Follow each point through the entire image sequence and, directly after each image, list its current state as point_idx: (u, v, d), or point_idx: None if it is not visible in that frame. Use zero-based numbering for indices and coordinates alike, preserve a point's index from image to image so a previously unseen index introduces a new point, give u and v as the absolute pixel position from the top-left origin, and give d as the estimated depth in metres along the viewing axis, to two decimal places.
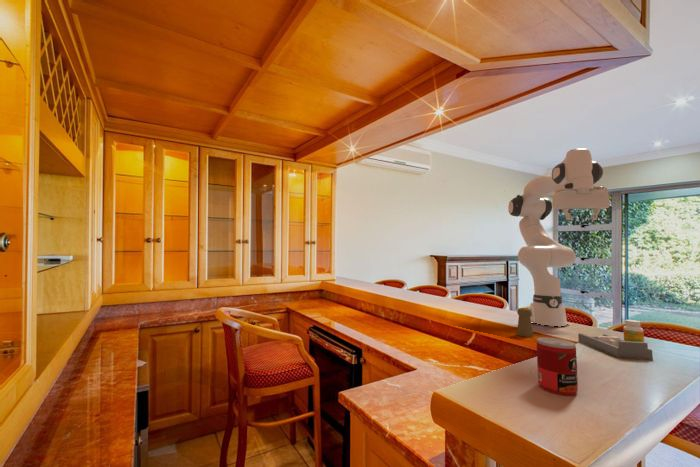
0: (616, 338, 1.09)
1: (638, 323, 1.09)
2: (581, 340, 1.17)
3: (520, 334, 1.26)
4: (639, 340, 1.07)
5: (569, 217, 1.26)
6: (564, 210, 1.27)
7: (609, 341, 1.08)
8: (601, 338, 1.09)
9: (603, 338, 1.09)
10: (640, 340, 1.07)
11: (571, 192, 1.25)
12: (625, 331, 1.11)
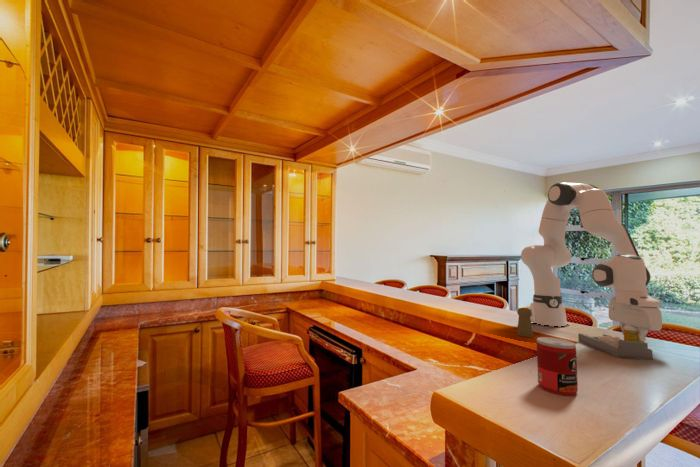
0: (616, 338, 1.09)
1: None
2: (581, 340, 1.17)
3: (520, 334, 1.26)
4: (639, 340, 1.07)
5: None
6: (646, 330, 1.05)
7: (609, 341, 1.08)
8: (601, 338, 1.09)
9: (603, 338, 1.09)
10: None
11: None
12: (625, 331, 1.11)
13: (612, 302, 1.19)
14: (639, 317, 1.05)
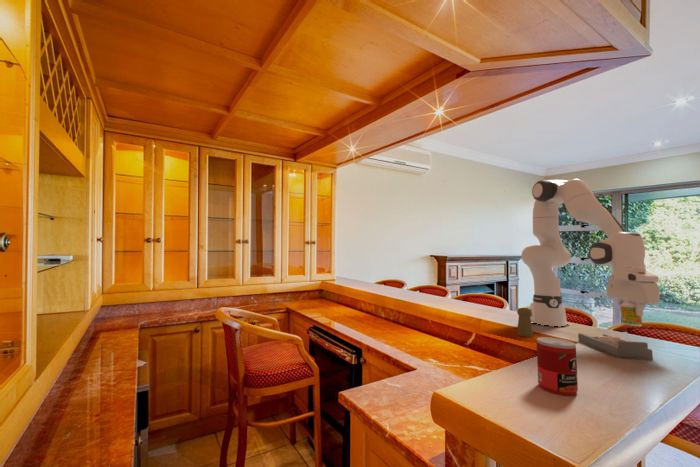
0: (616, 338, 1.09)
1: None
2: (581, 340, 1.17)
3: (520, 334, 1.26)
4: (637, 316, 1.09)
5: None
6: (643, 305, 1.06)
7: (609, 341, 1.08)
8: (601, 338, 1.09)
9: (603, 338, 1.09)
10: (637, 316, 1.09)
11: None
12: (623, 308, 1.12)
13: (610, 280, 1.20)
14: (637, 292, 1.06)
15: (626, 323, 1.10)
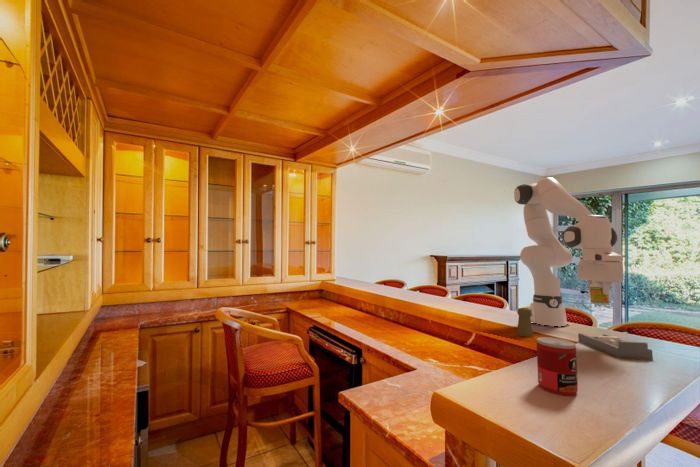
0: (616, 338, 1.09)
1: None
2: (581, 340, 1.17)
3: (520, 334, 1.26)
4: (604, 295, 1.12)
5: None
6: (609, 284, 1.10)
7: (609, 341, 1.08)
8: (601, 338, 1.09)
9: (603, 338, 1.09)
10: (604, 295, 1.12)
11: None
12: (591, 288, 1.16)
13: (581, 262, 1.23)
14: (603, 272, 1.10)
15: (594, 302, 1.14)
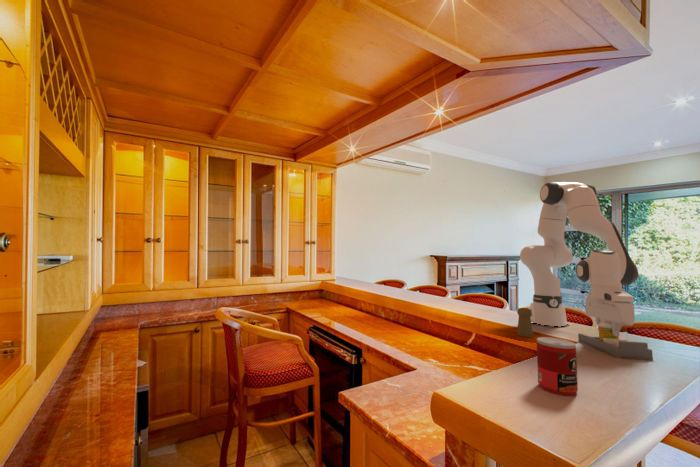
0: (623, 340, 1.05)
1: None
2: (581, 340, 1.17)
3: (520, 334, 1.26)
4: (614, 337, 1.07)
5: None
6: (619, 325, 1.05)
7: (616, 343, 1.05)
8: (607, 340, 1.06)
9: (609, 340, 1.06)
10: (614, 337, 1.07)
11: None
12: (600, 328, 1.10)
13: (588, 298, 1.18)
14: (613, 312, 1.05)
15: None
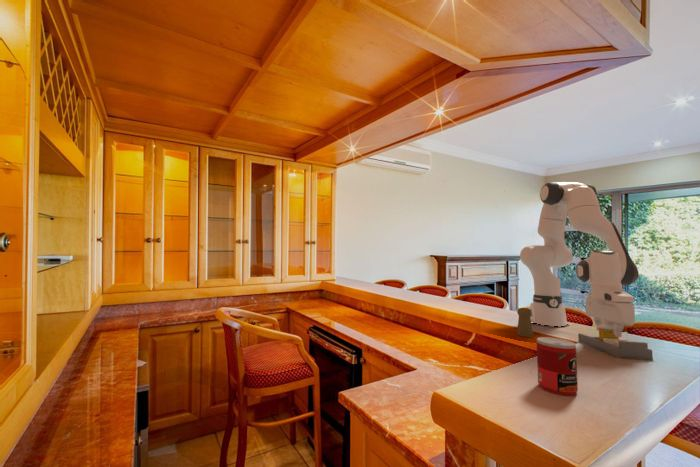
0: None
1: None
2: (581, 340, 1.17)
3: (520, 334, 1.26)
4: (614, 338, 1.07)
5: None
6: (621, 326, 1.04)
7: (616, 344, 1.05)
8: (608, 340, 1.06)
9: (610, 340, 1.06)
10: (614, 338, 1.07)
11: None
12: (600, 329, 1.10)
13: (589, 298, 1.18)
14: (613, 312, 1.05)
15: None
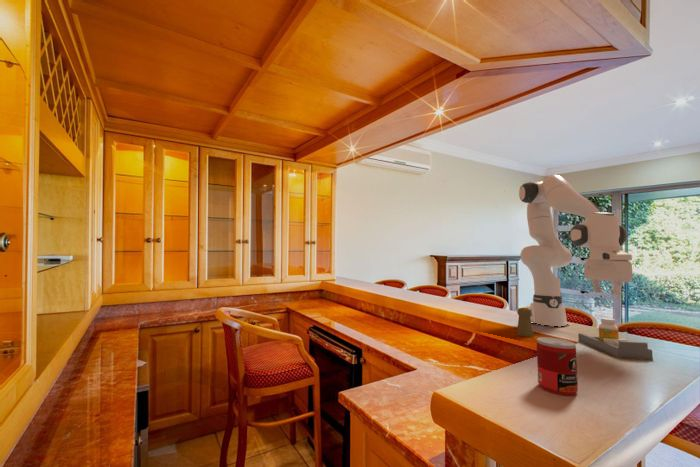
0: None
1: (613, 321, 1.08)
2: (581, 340, 1.17)
3: (520, 334, 1.26)
4: (614, 338, 1.07)
5: None
6: (620, 284, 1.05)
7: (616, 344, 1.05)
8: (607, 340, 1.06)
9: (610, 340, 1.06)
10: (614, 338, 1.07)
11: None
12: (600, 329, 1.10)
13: (587, 261, 1.20)
14: (611, 271, 1.07)
15: None
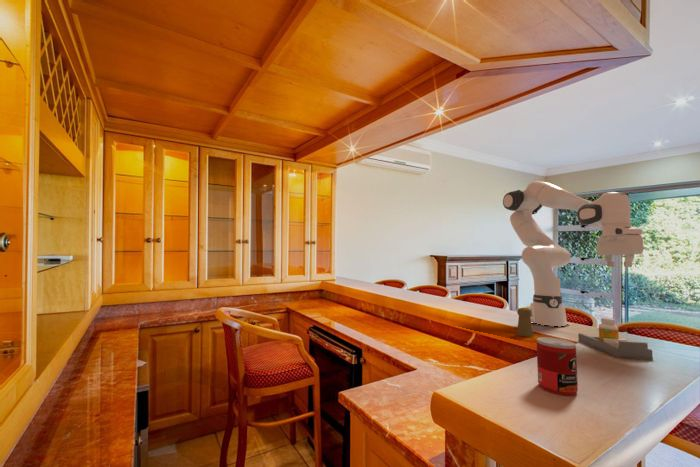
0: None
1: (613, 321, 1.08)
2: (581, 340, 1.17)
3: (520, 334, 1.26)
4: (614, 338, 1.07)
5: None
6: (632, 256, 1.15)
7: (616, 344, 1.05)
8: (607, 340, 1.06)
9: (610, 340, 1.06)
10: (614, 338, 1.07)
11: None
12: (600, 329, 1.10)
13: (600, 238, 1.29)
14: (623, 245, 1.16)
15: None
